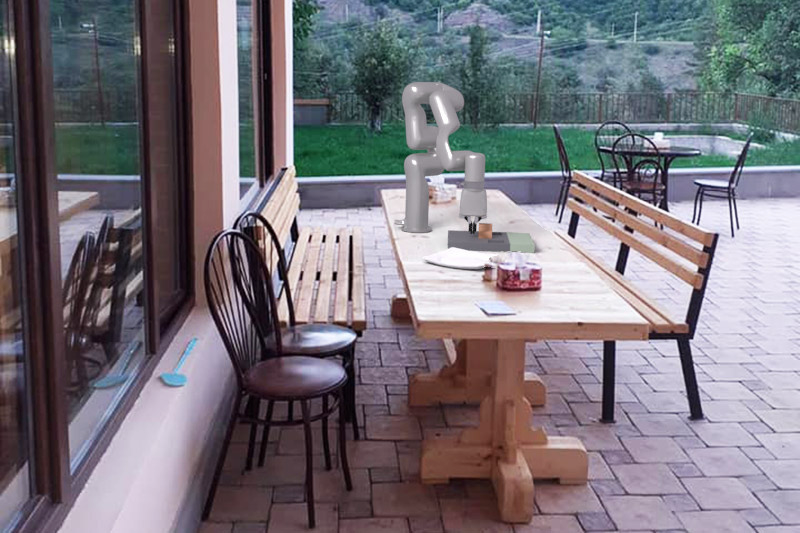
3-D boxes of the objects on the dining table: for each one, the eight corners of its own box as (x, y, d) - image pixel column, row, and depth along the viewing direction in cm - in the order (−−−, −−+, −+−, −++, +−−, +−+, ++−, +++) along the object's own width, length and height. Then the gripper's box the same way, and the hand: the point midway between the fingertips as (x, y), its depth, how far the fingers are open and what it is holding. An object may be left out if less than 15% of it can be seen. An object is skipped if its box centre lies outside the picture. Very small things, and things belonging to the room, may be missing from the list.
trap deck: (447, 249, 337) (448, 241, 336) (447, 237, 360) (448, 230, 359) (534, 252, 335) (534, 244, 335) (528, 240, 359) (529, 233, 358)
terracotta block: (478, 238, 344) (479, 225, 343) (478, 235, 349) (478, 223, 348) (491, 238, 344) (492, 225, 343) (491, 236, 349) (492, 223, 348)
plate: (416, 264, 312) (416, 257, 312) (450, 253, 333) (451, 246, 332) (480, 275, 300) (480, 267, 299) (511, 262, 320) (512, 254, 319)
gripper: (454, 186, 340) (452, 234, 344) (494, 187, 339) (492, 235, 343) (454, 183, 347) (452, 231, 351) (493, 185, 346) (491, 232, 350)
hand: (472, 233), depth 347 cm, fingers closed
